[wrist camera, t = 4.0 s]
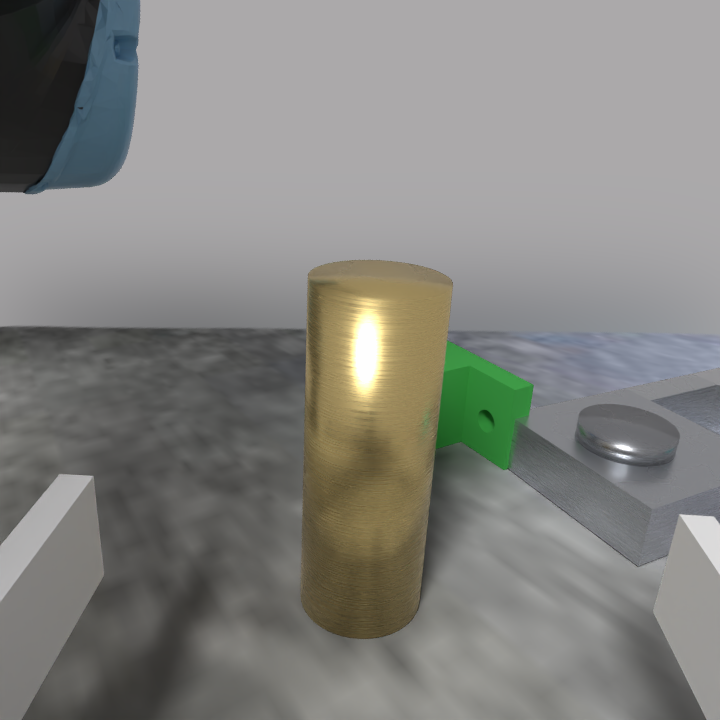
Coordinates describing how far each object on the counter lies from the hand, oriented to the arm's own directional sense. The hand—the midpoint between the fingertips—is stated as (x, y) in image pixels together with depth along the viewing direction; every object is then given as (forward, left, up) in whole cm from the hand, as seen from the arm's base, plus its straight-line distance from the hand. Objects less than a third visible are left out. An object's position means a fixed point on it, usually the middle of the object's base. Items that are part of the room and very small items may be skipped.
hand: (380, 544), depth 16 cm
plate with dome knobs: (-6, +23, -6) cm, 24 cm away
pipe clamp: (-15, +11, -7) cm, 20 cm away
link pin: (-5, +3, -6) cm, 8 cm away
